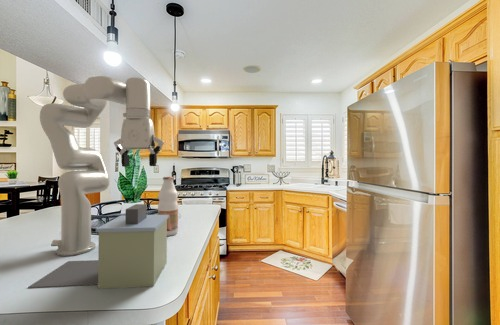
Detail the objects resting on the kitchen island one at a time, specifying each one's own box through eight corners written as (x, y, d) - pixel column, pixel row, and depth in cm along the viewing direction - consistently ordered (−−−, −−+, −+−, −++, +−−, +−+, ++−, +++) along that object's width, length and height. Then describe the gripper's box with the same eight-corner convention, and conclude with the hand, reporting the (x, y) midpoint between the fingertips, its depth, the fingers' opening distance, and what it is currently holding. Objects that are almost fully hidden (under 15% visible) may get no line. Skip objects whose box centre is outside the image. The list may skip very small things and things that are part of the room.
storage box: (98, 288, 66) (98, 231, 66) (121, 264, 81) (121, 218, 80) (153, 285, 67) (154, 230, 67) (166, 263, 82) (166, 217, 82)
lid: (95, 232, 65) (95, 212, 65) (121, 218, 81) (121, 202, 81) (155, 230, 67) (155, 211, 67) (168, 217, 83) (168, 201, 83)
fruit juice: (156, 237, 110) (156, 177, 110) (159, 231, 119) (159, 176, 119) (177, 235, 112) (177, 177, 112) (178, 230, 121) (179, 176, 121)
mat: (28, 288, 65) (27, 287, 65) (68, 262, 82) (68, 261, 82) (96, 285, 67) (96, 284, 67) (122, 260, 84) (122, 259, 84)
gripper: (107, 114, 77) (107, 166, 77) (157, 112, 75) (158, 166, 75) (121, 119, 84) (122, 166, 84) (167, 117, 82) (168, 165, 82)
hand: (139, 166), depth 79 cm, fingers open, 9 cm apart
